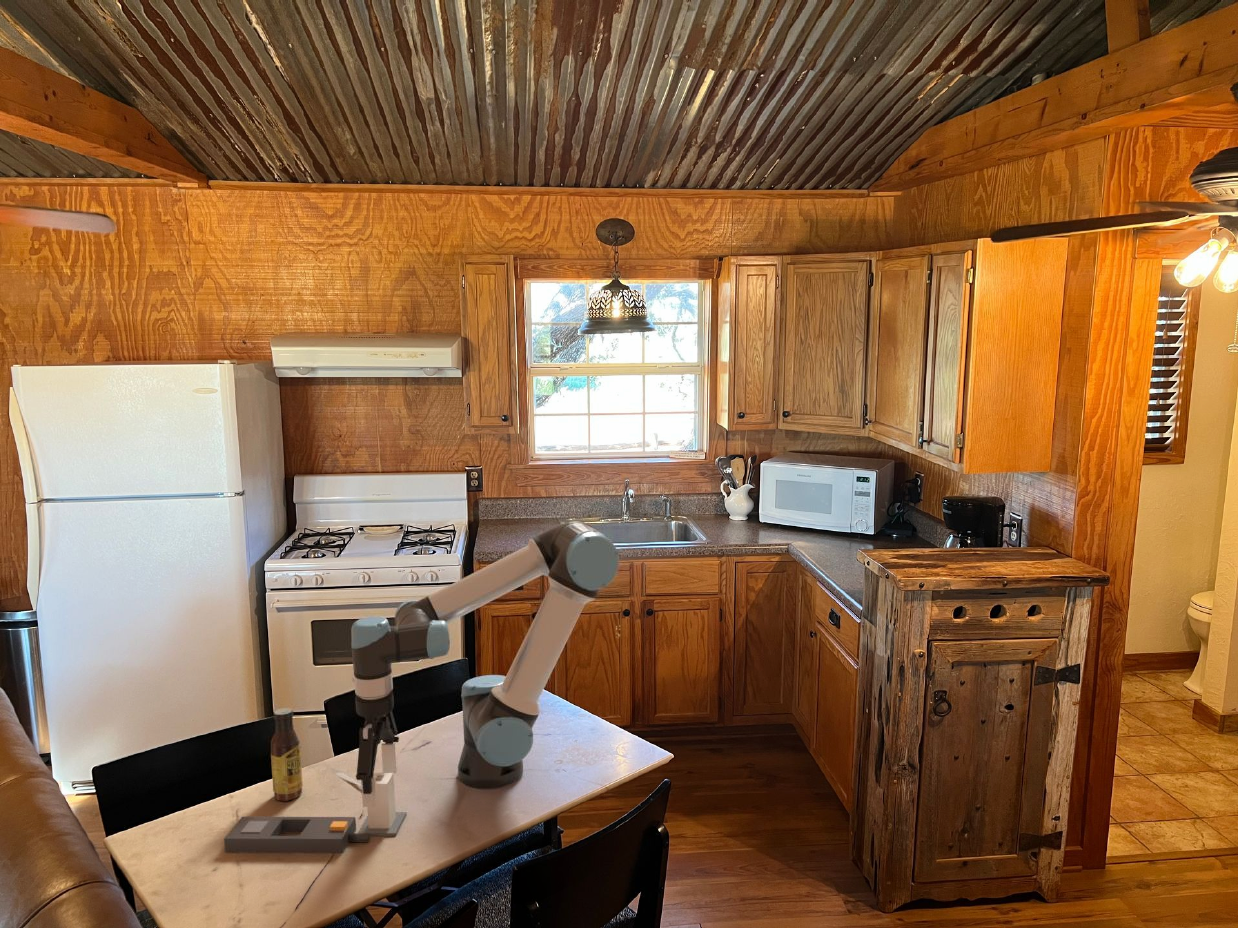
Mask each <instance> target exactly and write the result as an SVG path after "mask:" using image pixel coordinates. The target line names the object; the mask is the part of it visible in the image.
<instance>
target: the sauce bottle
mask: <svg viewBox="0 0 1238 928" xmlns="http://www.w3.org/2000/svg"><path fill="white" fill-rule="evenodd" d="M293 717H294V711H293V709H292V708H291V707H283V708H282V707H281V708H277V709H276V710H274V712H273V719H274V727H275V729H274V731H275V732H274V734H273V736H272V738H271V741H270V759H271V763H270V764H271V775H272V777H271V778H272V790H273V791H272V792H273V793H274V794H273V795H274V799H276V800H277V801H281V802H286V801H291V800H294V799H296V798H298V797H299V796H301V794H302V792H303V785H304V784H303V783H304V782H303V770H302V769H303V768H302V752H301V742H300V740H299V738H298V735H297V733H296V731H295V729H294V720H293Z"/></svg>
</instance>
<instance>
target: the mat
mask: <svg viewBox="0 0 1238 928" xmlns="http://www.w3.org/2000/svg"><path fill="white" fill-rule="evenodd" d="M406 817H407V811H396V818H395V820H394V822H393V824H392V826H391V827H390V828H369V826H368V815H367V816H366V818H365V819H364V821H363V823H362V824H361V826H360V828H359V830H358V831H357V834H370V837H379V836H380V837H396V836H397V835H398V834H399V831H400V828H401V827H402V825H403V823H404V821H405V819H406Z"/></svg>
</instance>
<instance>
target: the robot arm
mask: <svg viewBox="0 0 1238 928" xmlns="http://www.w3.org/2000/svg"><path fill="white" fill-rule="evenodd" d="M619 566H620V556H619V552H618V549H617V548H616V546H615V544H614V543H613V542H612V540H611V539H610V538H609V537H608V536H607V535H605V534H604V533H602V532H600V531H598V530H597V529H595V528H594V527H592V525H590V524H589V523H586V522H584V521H577V520H576V521H575V520H573V521H572V520H571V521H567V522H563V523H560V524H558V525H556V526H554V527H552V528H549V529H548V530H546V531H545V530H544V532H542V533H539V534H537V535H536V536H533V537H532V538H530V539H529V541H528V543H527V544H526V546H524V547H522V548H519V549H518V550H516V551H514V552H512V553H510V554H508V555H506V556H504V557H502V558H501V559H498V560H496V561H494V562H493V563H490V564H488V565H487V566H485V567H482V568H481V569H478V570H476V571H475V572H473V573H471V574H469V575H467V576H464V577H463V578H461V579H460V580H457V581H455V582H453V583H452V584H448V586H445V587H443V588H442V589H439V590H437V591H435V592H434V593H431V594H429V595H427V596H425V597H423V598H421V599H419V600H416V599H414V600H413V599H409V600H406V601H404V602H402V603H401V604H399V606H398V607H397V608H396V611H395V612H394V625H390V624H389V623H390V622H389V620H388V619H387V618H386V617H384V616H368V617H367V616H366V617H363V618H360V619H357V620H356V621H355V622H353V624H352V625H351V632H350V633H351V643H350V644H351V654H352V655H351V656H352V657H351V658H352V666H353V667H352V668H353V677H352V679H351V681H352V682H353V683H354V692H355V698H354V700H355V711H356V714H357V715H358V716H360V717H362V718H364V719H365V721H364V722H363V723H364V724H363V727H360V728H359V730H358V731H359V732H358V733H359V734H358V735H359V737H358V738H359V743H358V755H357V756H358V757H357V767H356V774H355V779H356V781H360V784H361V786H362V788H361V797H362V798H361V799H362V808H367V807H377V792H376V777H375V775H374V773H375V766H376V761H377V760H376V759H377V754H378V747H379V745H380V747H381V761H382V763H381V764H382V773H394V774H396V773H397V759H396V758H397V756H396V743H399V740H400V737H399V736H398V733H399V731H398V728H397V725H396V721H395V717H394V714H393V710H394V707H395V706H394V691H393V689H394V683H393V669H392V664H397V663H398V664H399V663H405V662H411V661H420V660H421V661H422V660H428V659H431V660H433V659H434V658H441V657H444V656H447V655H448V654H449V652H450V649H451V646H450V645H451V643H450V640H451V639H450V632H449V631H450V630H449V626H448V624H449V623H451V622H453V621H455V620H458V619H459V618H461V617H463V616H465V615H467V614H469V613H471V612H473V611H475V610H477V609H479V608H481V607H482V606H485V605H487V604H488V603H490V602H493V601H494V600H496V599H499V598H500V597H503V596H504V595H506V594H508V593H510V592H512V591H513V590H516V589H518V588H519V587H521V586H524V585H525V584H527V583H529V582H531V581H533V580H535V579H537V578H539V577H541V576H545V577H547V578H548V583H549V588H548V590H547V592H546V594H545V596H544V598H543V600H542V602H541V604H540V606H539V608H538V611H537V612H536V614H535V617H534V619H533V621H532V622H531V625H530V627H529V629H528V630H527V633H526V634H525V637H524V639H523V641H522V643H521V644H520V647H519V649H518V651H517V653H516V656H515V658H514V659H513V661H512V663H511V665H510V668H509V670H508V672H507V674H506V676H505V675H502V674H501V675H500V674H488V675H481V676H476V677H473V678H470V679H468V680H466V681H465V682H464V683H463V684H462V686H461V695H460V696H461V701H462V704H461V705H462V723H463V725H462V726H463V747H462V750H461V754H460V756H459V757H460V758H459V761H458V765H457V776H458V779H459V782H461V783H462V784H463V785H465V786H467V787H470V788H473V789H480V790H481V789H482V790H483V789H484V790H486V789H487V790H489V789H491V790H492V789H497V788H502V787H506V786H508V785H511V784H512V783H514V782H516V781H517V780H519V779H520V778H521V776H522V775H523V773H524V761H523V760H524V759H525V758H526V757H527V756H528V755H529V753H530V751H531V750H532V747H533V744H534V732H533V728H534V725H535V724H536V721H537V720H538V717H539V714H540V713H541V709H540V706H539V703H538V702H539V699H540V698H541V695H542V693H543V691H544V689H545V687H546V685H547V683H548V680H549V679H550V676H551V674H552V672H553V670H554V668H555V666H556V664H557V663H558V660H559V658H560V656H561V653H562V652H563V650H564V649H565V645H566V644H567V642H568V640H569V638H570V635H571V634H572V631H573V629H574V627H575V626H576V623H577V622H578V619H579V618H580V615H581V613H582V611H583V609H584V607H585V605H586V604H587V603H590V602H592V601H595V600H596V598H597V596H598V594H600V593H599V592H600V590H601V589H603V588H604V587H607V586H608V585H610V584H611V583H612V581H613V580H614V579H615V577H616V576H617V574H618V571H619V568H620V567H619ZM381 741H382V742H383V743H382V742H381ZM381 743H382V744H381Z"/></svg>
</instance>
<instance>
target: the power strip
mask: <svg viewBox="0 0 1238 928" xmlns="http://www.w3.org/2000/svg"><path fill="white" fill-rule="evenodd" d="M356 824H357V823H356V816H241V817H240V818H239V819H238V820H237V822H236V823H235V824H234V826H233V827H232V828H231V829H230V831H229V832H228V833H227V834H226V835H225V836H224V838H223V842H224V852H225V853H275V854H276V853H277V854H278V853H281V854H282V853H284V854H285V853H289V854H290V853H291V854H292V853H295V854H296V853H301V854H302V853H303V854H304V853H305V854H307V853H309V854H310V853H312V854H314V853H315V854H316V853H317V854H318V853H319V854H321V853H322V854H331V853H333V854H343V853H344V852H345V851H346V849H347V847H348V845H349V843H369V842H370V840H371V836H370V834H358V833H356V831H357V825H356ZM284 833H285V834H286V833H287V834H292V833H293V834H295V833H297V834H300V835H283V834H284Z"/></svg>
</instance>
